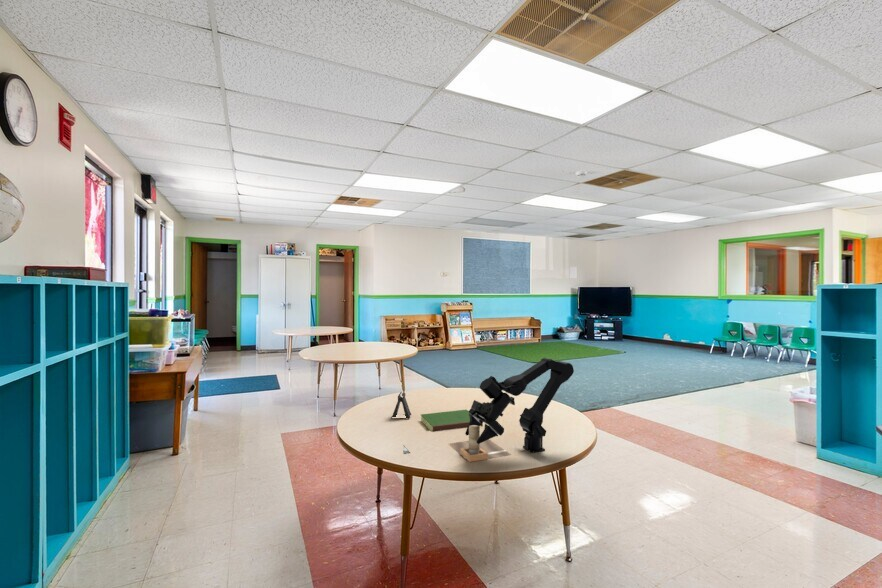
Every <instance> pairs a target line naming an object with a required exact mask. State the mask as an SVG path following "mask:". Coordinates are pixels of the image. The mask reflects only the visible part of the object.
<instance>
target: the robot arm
mask: <svg viewBox="0 0 882 588" xmlns="http://www.w3.org/2000/svg"><path fill="white" fill-rule="evenodd" d="M547 371H550V372H549V374H550V376H549V377H550V378H549V379H548V380H547V382H546V384H545V386H544V387H543V389H542V390H541V392H540V394H539V395H538V397H537V398H536V400H535V402H534V403H533V405H532V406H531V407H530V408H527V407H525V408H524V409H523V411H522V413H521V414H520V415H519V419H518V421H519V425H520V427H521V428H522V431H523V432H524V439H523V440H524V441H523V443H524V444H523V445H522V448H523V449H525V450H527V451H529V452H530V453H537V452H544V451H545V450H546V448H545V447H543V441H544V440H543V437H545V436H546V433H547V430H546V428H544V426H542V424H543V423H544V422H543V421H544V414H545V411H546V410H547V408H548V407H549V405H550V403H551V402H552V400H553V398H554V396H555V395H556V394H557V392H558V390H559V389H560V387H561V386H562V384H564V383H565V382H567V381H569V379H570V378H571V377H572V376H573V375H574V372H575V370H574V366H573V364H571V363H570V362H565V361H561V360H556V361H555V360H553V358H552V359H551V358H548V357H543V358H541V359H540V361H538V362H536V363H535V364H533V365H532V366H530V367H529V368H527V369H526V370H524V371H523V372H522V373H520V374H517V375H512V376H509V377H507V378H505V379H504V380H503V381H500V382H499V381H498V380H497V378H495V376H492V375H490V376H489V377H487V378H485V379H484V380H482V381H481V382H480V383H479V389H480V390H481V391H482V392H483V394H485V395H486V396H487V398H488V399H491V401H490V402H488V401H487V402H485V401H484V402H480V401H477V400H476V399H474V400H473V402H472V404H471V407H470V409H469V410H468V412H469V413H470V414H469V416H470V422H469V425H468V427H466V430H465V433H464V434H465V435H466V436H469V426H470V425H477V426H479V427H482V426H481V424H480V423H484V429H483V430H482V432H481V434H480V437H479V438H478V440H477V443H478V444H480V443H482V442H484V441H486V440H488V439H489V440H491V439H493V438H495V437H499V436H500V437H501V436H502V435H503V434H504V433H505V428H504V427H503V425H501V424H500V422H498V419H499V417H503V416H504V414H503V412H504V411H505V410H506V408H507V407H508V405H513V406H516V405H515V404H516V403H515V397H517V396H520V395H521V394H522V393H523V392H524V391H525V390H526V389H527V386H528V385H529V384H530V383H532V382H533V381H535V380H536V379H538V378H540V376H542V375H543V374H545V373H546V372H547ZM509 394H510V395H511V396H510V395H509ZM513 396H515V397H513ZM479 422H480V423H479Z"/></svg>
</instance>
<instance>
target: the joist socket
mask: <svg viewBox="0 0 882 588" xmlns="http://www.w3.org/2000/svg"><path fill="white" fill-rule="evenodd" d="M460 454H461V455H462V456H463V458H464V457H465V458H466V459H467V460H468V461H469V462H468V461H467V460H466V459H465V458H464V459H465V460H466V461H467V462H468V463H473V462H472V461H475V462H479V461H478V460H480V461H485V460H484V459H486V460H489V459H488V453H487V452H485V451H484V450H483V449H481V448H480V447H479V454H474V455H470V454H469V448H463V449H460ZM460 454H459V455H460ZM461 455H460V456H461ZM462 456H461V457H462Z"/></svg>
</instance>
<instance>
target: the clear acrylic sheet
mask: <svg viewBox="0 0 882 588" xmlns="http://www.w3.org/2000/svg"><path fill="white" fill-rule="evenodd" d="M448 445H449V446H450V447H451V448H452V450H454V451H455V452H456V453H458V454H459V455H460V456H461V457H463V456H462V455H461V454H460V449H463V448H469V440H463V441H458V442H457V441H456V442H452V443H451V442H450V443H448ZM479 447H480V448H481V449H483V450H484V451H485V452H487V453H488V459H484V460H483V461H485V460H489V459H490V460H491V459H496V458H501V457H507V456H511V455H512V454H511V453H510V452H508V451H507V450H506V449H504V448H503V447H501V446H500V445H498V444H497V443H495V442H494V441H492V440H491V439H488V440H486V441H484V442H482V443H480V445H479ZM463 458H464V460H466V462H468V463H470V462H469V461H468V460H467V459H466V458H465V457H463ZM479 461H481V460H478V461H477V462H479ZM473 462H476V461H472V462H471V463H473Z"/></svg>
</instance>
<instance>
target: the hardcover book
mask: <svg viewBox="0 0 882 588" xmlns="http://www.w3.org/2000/svg"><path fill="white" fill-rule="evenodd" d="M468 411H469V410H467V409H460V410H459V409H458V410H450V411H449V410H447V411H440V412H432V413H423V414H422V413H421V414H420V416H421V417H420V418H421V419H420V420H421V422H422V423H423V424H424V426H426V428H427V429H428V430H429V429H430V430H431V432H438V431H446V430H454V429H463V428H467V427H468V425H469V422H470V416H469V414H470V413H469V412H468ZM479 423H480V422H479ZM483 423H484V422H483ZM483 423H480V424H481V426H480V427H484V425H483ZM430 430H429V431H430Z"/></svg>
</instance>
